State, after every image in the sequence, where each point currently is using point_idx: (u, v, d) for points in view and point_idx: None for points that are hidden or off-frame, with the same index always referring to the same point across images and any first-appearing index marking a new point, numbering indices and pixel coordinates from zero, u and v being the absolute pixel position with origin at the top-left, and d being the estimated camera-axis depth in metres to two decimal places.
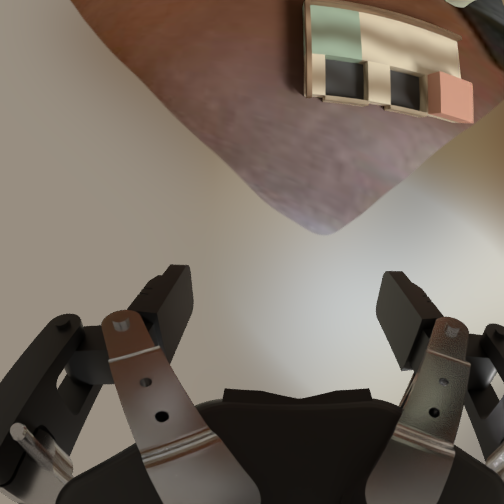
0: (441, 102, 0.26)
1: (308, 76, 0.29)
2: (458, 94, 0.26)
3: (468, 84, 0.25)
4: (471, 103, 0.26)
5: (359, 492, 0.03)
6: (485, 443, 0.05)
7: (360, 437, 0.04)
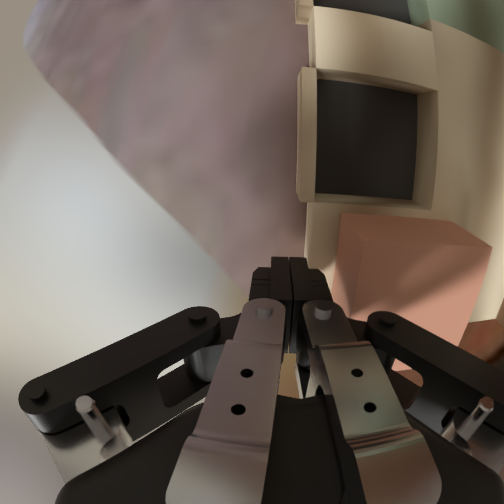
0: (403, 246, 0.09)
1: None
2: (428, 317, 0.10)
3: None
4: (397, 365, 0.11)
5: (359, 492, 0.03)
6: None
7: None
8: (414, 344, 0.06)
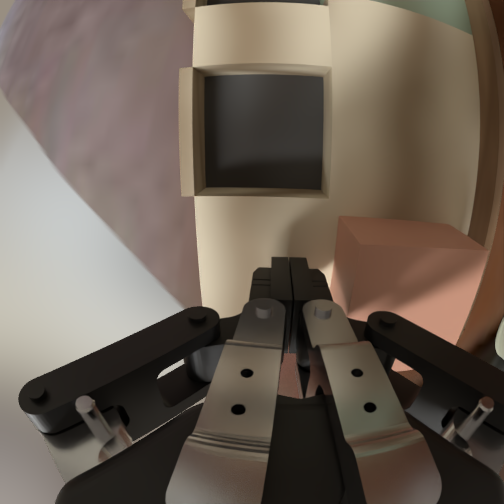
0: (399, 250, 0.09)
1: None
2: (424, 319, 0.10)
3: None
4: (394, 366, 0.11)
5: (359, 492, 0.03)
6: None
7: None
8: (414, 344, 0.06)
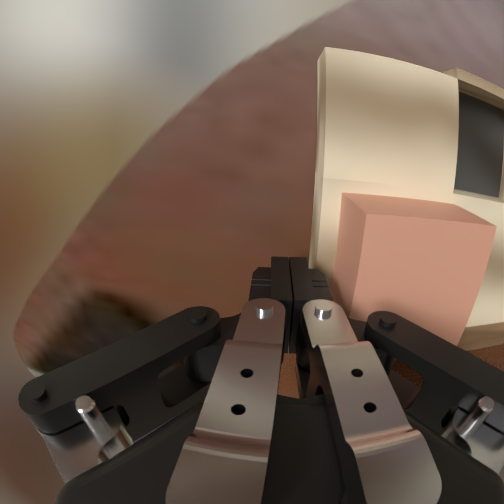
0: (485, 261, 0.09)
1: None
2: (419, 307, 0.10)
3: None
4: (363, 293, 0.09)
5: (359, 492, 0.03)
6: None
7: None
8: (414, 344, 0.06)
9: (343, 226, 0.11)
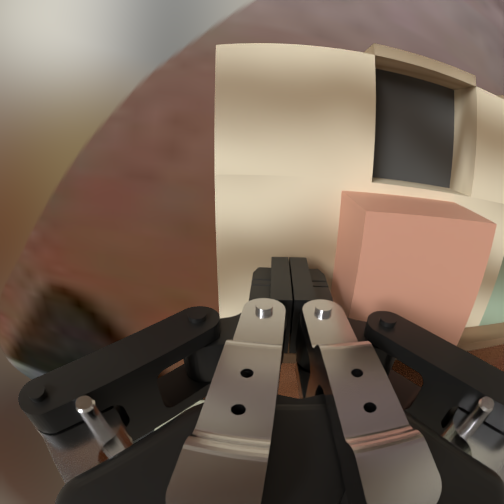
0: (486, 259, 0.09)
1: None
2: (419, 306, 0.09)
3: None
4: (363, 291, 0.09)
5: (359, 492, 0.03)
6: None
7: None
8: (414, 344, 0.06)
9: (343, 224, 0.11)
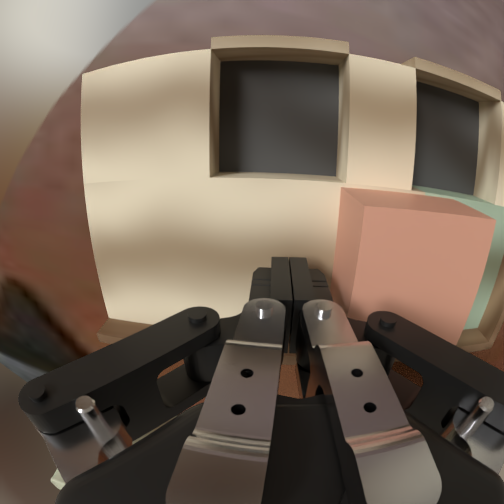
0: (485, 255, 0.08)
1: None
2: (419, 302, 0.09)
3: None
4: (362, 286, 0.09)
5: (359, 492, 0.03)
6: None
7: None
8: (414, 344, 0.06)
9: (342, 220, 0.11)
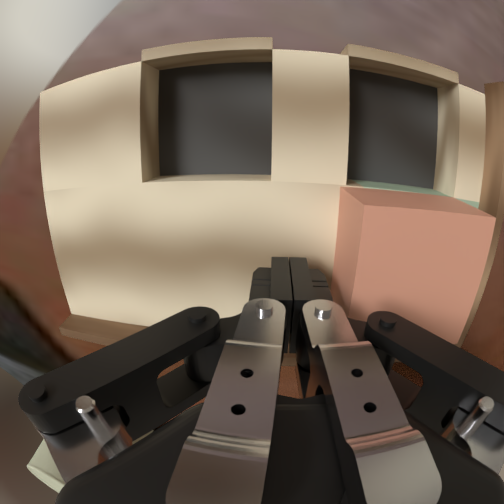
0: (486, 253, 0.08)
1: None
2: (419, 300, 0.09)
3: None
4: (362, 286, 0.09)
5: (359, 492, 0.03)
6: None
7: None
8: (414, 344, 0.06)
9: (342, 220, 0.11)
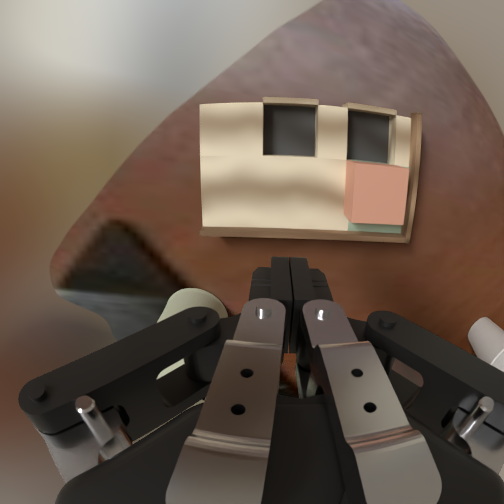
0: (406, 182, 0.25)
1: (420, 136, 0.25)
2: (379, 200, 0.26)
3: (358, 218, 0.27)
4: (356, 191, 0.26)
5: (359, 492, 0.03)
6: None
7: None
8: (414, 344, 0.06)
9: (347, 172, 0.28)
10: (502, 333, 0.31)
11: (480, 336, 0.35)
